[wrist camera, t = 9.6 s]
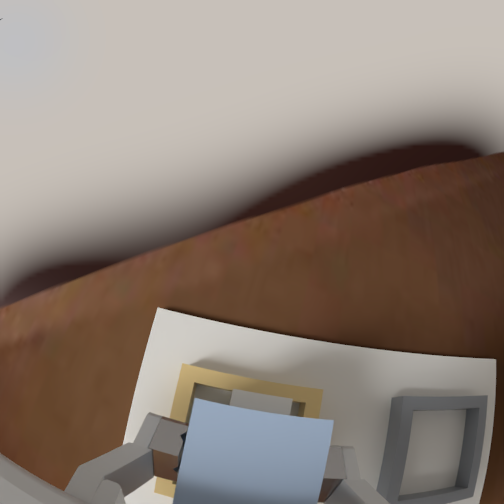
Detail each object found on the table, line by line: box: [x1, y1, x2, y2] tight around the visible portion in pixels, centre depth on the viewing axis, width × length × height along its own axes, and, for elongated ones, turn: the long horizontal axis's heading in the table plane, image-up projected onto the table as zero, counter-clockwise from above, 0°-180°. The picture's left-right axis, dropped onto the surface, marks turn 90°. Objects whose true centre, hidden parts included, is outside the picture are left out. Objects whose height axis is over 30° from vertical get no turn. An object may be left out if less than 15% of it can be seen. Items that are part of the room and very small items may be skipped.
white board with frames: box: [123, 308, 496, 504], centre depth 14 cm, size 24×13×2 cm, turn 79°
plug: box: [172, 389, 334, 504], centre depth 11 cm, size 4×5×8 cm
